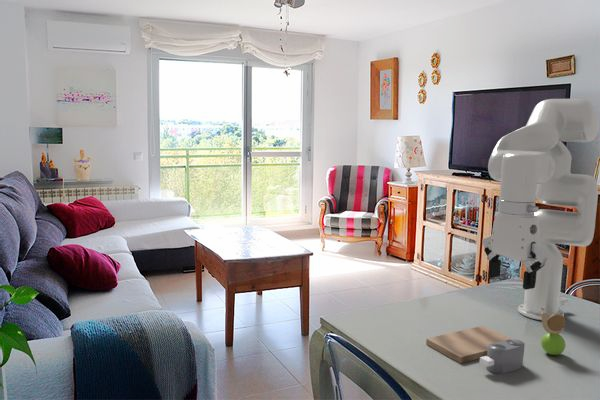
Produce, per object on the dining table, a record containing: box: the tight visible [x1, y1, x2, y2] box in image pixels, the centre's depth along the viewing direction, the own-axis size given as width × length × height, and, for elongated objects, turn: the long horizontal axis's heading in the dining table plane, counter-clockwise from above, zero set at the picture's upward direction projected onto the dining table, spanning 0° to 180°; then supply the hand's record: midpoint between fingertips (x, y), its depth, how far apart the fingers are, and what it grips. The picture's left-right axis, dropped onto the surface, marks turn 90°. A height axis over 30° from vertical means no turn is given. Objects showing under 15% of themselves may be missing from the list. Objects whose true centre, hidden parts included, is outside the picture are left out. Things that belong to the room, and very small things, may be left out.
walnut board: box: [425, 325, 512, 364], centre depth 134 cm, size 20×12×2 cm, turn 118°
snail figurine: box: [540, 307, 566, 356], centre depth 129 cm, size 5×6×12 cm
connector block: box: [479, 338, 525, 375], centre depth 122 cm, size 12×4×6 cm, turn 118°
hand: (510, 282), depth 119 cm, fingers open, 9 cm apart
